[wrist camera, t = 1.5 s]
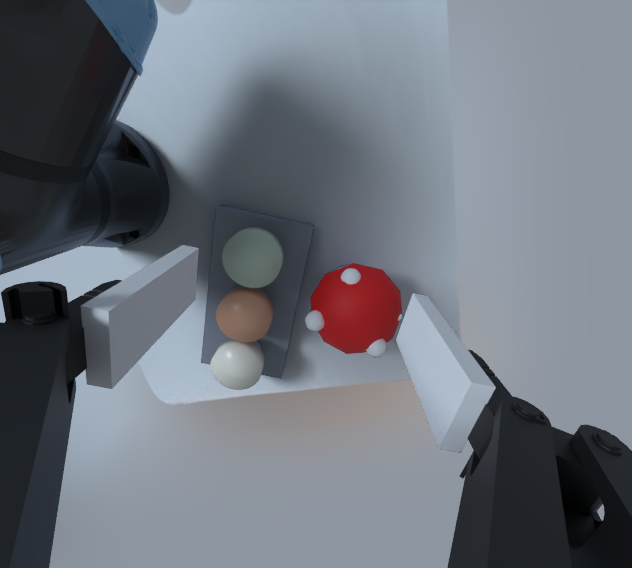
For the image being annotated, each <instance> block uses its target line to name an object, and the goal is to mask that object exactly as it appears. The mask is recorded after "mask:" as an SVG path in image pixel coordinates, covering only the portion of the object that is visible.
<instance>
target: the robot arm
mask: <svg viewBox="0 0 632 568" xmlns="http://www.w3.org/2000/svg"><path fill="white" fill-rule="evenodd" d="M157 21H158V16H157V9H156V5H155V2H154V0H0V275H1V274H4V273H7V272H10V271H13V270H15V269H18V268H21V267H24V266H27V265H30V264H32V263H35V262H38V261H41V260H44V259H46V258H49V257H52V256H55V255H57V254H60V253H63V252H66V251H69V250H72V249H74V248H77V247H80V246H95V247H122V246H127V245H130V244H133V243H135V242H138V241H140V240H142V239H144V238H146V237H148V236H149V235H151V234H152V233H153V232H154V231H155V230H156V229H157V228H158V227H159V226H160V224H161V223H162V221H163V219H164V217H165V215H166V212H167V208H168V202H169V188H168V182H167V178H166V174H165V171H164V168H163V166H162V164H161V162H160V160H159V158H158V156H157V155H156V153H155V152H154V150H153V149H152V148H151V146H150V145H149V144H148V143H147V142H146V140H145V139H144V138H143V137H141V136H140V135H139V134H138V133H137V132H136V131H134V130H133V129H132V128H130V127H129V126H127V125H125V124H123V123H121V122H119V121H117V120H116V118H117V116H118V114H119V112H120V110H121V108H122V106H123V104H124V102H125V100H126V98H127V96H128V94H129V92H130V90H131V88H132V86H133V84H134V82H135V80H136V78H137V76H138V75H139V76H141V74H142V71H143V68H142V63H143V60H144V58H145V55H146V53H147V50H148V48H149V46H150V43H151V41H152V38H153V36H154V33H155V31H156V28H157ZM198 253H199V248H196V247H191V246H186V245H182V246H180V247H178V248H177V249H175V250H173V251H172V252H170V253H168V254H166V255H165V256H163V257H161V258H160V259H158V260H156V261H155V262H153V263H151V264H150V265H148V266H146V267H145V268H143V269H141V270H140V271H138V272H136V273H135V274H133V275H131V276H130V277H128V278H126V279H125V280H123V281H121V280H114V281H111V282H107V283H103V284H101V285H99V286H98V287H96V288H94V289H93V290H92V291H89V292H87V293H85V294H84V295H83V296H80V297H78V298H76V299H74V300H72V301H71V302H69V303H68V300H67V291H66V287H65V286H63V285H61V284H58V283H53V282H41V281H38V282H27V283H21V284H17V285H14V286H11V287H8V288H6V289H5V290H3V292H1V295H2V301H3V306H4V312H5V317H6V321H5V323H0V568H49V564H50V557H51V550H52V544H53V537H54V531H55V524H56V517H57V511H58V504H59V497H60V491H61V484H62V477H63V471H64V464H65V458H66V452H67V445H68V438H69V432H70V425H71V419H72V412H73V406H74V399H75V393H76V382H75V378H76V377H77V376H78V375H79V374H80V373H81V372H83V371H84V370H85V369H86V379H87V384H88V385H93V386H99V387H104V388H110V389H112V388H113V387H114V386H115V385H116V384H117V383H118V382H119V381H120V380H121V379H122V378H123V376H124V375H125V374H126V373H127V372H128V371H129V370H130V369H131V368H132V367H133V366H134V365H135V364H136V362H137V361H138V360H139V359H140V358H141V357H142V356H143V355H144V354H145V353H146V352H147V351H148V350H149V349H150V348H151V346H152V345H153V344H154V343H155V342H156V341H157V340H158V339H159V338H160V337H161V336H162V335H163V334H164V332H165V331H166V330H167V329H168V328H169V327H170V326H171V325H172V324H173V323H174V322H175V321H176V320H177V319H178V317H179V316H180V315H181V314H182V313H183V312H184V311H185V310H186V309H187V308H188V307H189V306H190V305H191V303H192V302H193V301H194V300H195V294H196V281H197V267H198ZM396 342H397V344H398V347H399V349H400V352H401V354H402V357H403V360H404V362H405V365H406V367H407V370H408V372H409V375H410V377H411V380H412V383H413V385H414V387H415V390H416V393H417V395H418V398H419V400H420V403H421V406H422V408H423V411H424V413H425V416H426V418H427V421H428V423H429V426H430V429H431V431H432V434H433V436H434V439H435V441H436V444H437V446H438V449H442V450H447V451H453V452H458V453H461V452H462V450H463V448H464V446H465V444H466V442H467V440H469V442H470V444H471V446H472V448H473V449H474V451H473V453H472V455H471V457H470V459H469V460H468V462H467V464H466V466H465V468H464V469H463V471H462V473H461V475H460V477H461V478H464V476H465V475H466V477H465V481H464V487H463V492H462V497H461V502H460V507H459V513H458V517H457V522H456V527H455V532H454V538H453V543H452V548H451V553H450V558H449V563H448V568H632V451H631V450H630V449H629V448H628V447H627V446H626V445H625V444H624V443H622V442H621V441H620V440H619V439H618V438H617V437H615V436H614V435H611V434H610V433H609V432H607V431H605V430H601V429H599V428H596V427H594V426H590V425H581V426H580V427H579V429H578V430H577V432H576V433H575V434H574V435H572V434H569V433H566V432H564V431H561V430H559V429H556V428H554V427H551V424H550V421H549V419H548V418H547V417H546V416H545V415H544V413H543V412H542V411H540V410H539V409H538V408H536V407H535V406H533V405H532V404H530V403H528V402H526V401H525V400H522V399H519V398H517V397H512V396H511V394H510V393H509V392H508V391H507V389H506V388H505V387H504V386H503V384H502V383H501V382H500V380H499V379H498V378H497V377H495V374H494V373H493V372H492V370H491V369H489V366H488V365H487V364H486V363H485V361H484V360H483V359H482V358H481V357H479V356H478V355H477V354H476V353H474V352H473V351H472V350H468V349H467V348H466V347H465V345H464V344H463V343H462V341H461V340H460V339H459V337H458V336H457V335H456V333H455V332H454V331H453V329H452V328H451V327H450V325H449V324H448V323H447V321H446V320H445V319H444V317H443V316H442V315H441V313H440V312H439V311H438V309H437V308H436V307H435V305H434V304H433V303H432V301H431V300H430V299H429V297H428V296H424V295H419V294H415V293H413V294H412V297H411V299H410V302H409V305H408V308H407V310H406V313H405V316H404V319H403V322H402V324H401V327H400V330H399V333H398V335H397V338H396ZM602 504H603V505H604V511H605V515H604V520H603V521H602V520H601V519H600V517H599V515H598V513H597V510H598V509H599V508H600V506H601V505H602Z"/></svg>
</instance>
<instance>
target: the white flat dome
mask: <svg viewBox="0 0 632 568" xmlns="http://www.w3.org/2000/svg"><path fill="white" fill-rule="evenodd" d="M263 366H264V355H263V353H262V351H261V349H260V348H259V347H258V346H257V345H256V344H255V343H253V342H238V341H235V340H233V339H229V340H226V341H224V342H223V343H222V344H221V345H220V346H219V347H218V349H217V351H216V353H215V354H214V356H213V358H212V360H211V364H210V368H211V372H212V375H213V376H214V378H215V379H216V380H217V381H218V382H219V383H220V384H222V385H223V386H225V387H227V388H230V389H236V390H242V389H247V388H250V387H252V386H253V385H255V384H256V383H257V382H258V380H259V378H260V376H261V373H262V369H263Z"/></svg>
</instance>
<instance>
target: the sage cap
mask: <svg viewBox="0 0 632 568" xmlns="http://www.w3.org/2000/svg"><path fill="white" fill-rule="evenodd" d="M283 259H284V253H283V249H282V246H281V244H280V242H279V240H278V239H277V238H276V237H275V236H274V235H273V234H272V233H270V232H269V231H267V230H265V229H262V228H257V227H250V228H245V229H243V230H241V231H239V232H238V233H236V234H235V235H234V236H233V237H231V238H230V239H229V240H228V241H227V243H226V244H225V246H224V249H223V253H222V262H223V266H224V269H225V271H226V272H227V274H228V275H229V277H230V278H231V279H232V280H234V281H235V282H236V283H238V284H240V285H242V286H244V287H248V288H260V287H264V286H266V285H268V284H270V283H271V282H272V281H273V280H274V279H275V278H276V277H277V275H278V274H279V271H280V269H281V267H282V264H283Z"/></svg>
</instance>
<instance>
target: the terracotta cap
mask: <svg viewBox="0 0 632 568" xmlns="http://www.w3.org/2000/svg"><path fill="white" fill-rule="evenodd" d="M272 318H273V306H272V303H271V301H270V300H269V298H268V297H267V296H266V295H265V294H264V293H263V292H261V291H260V290H258V289H255V288H248V287H238V288H235V289H233V290H231V291H230V292H228V293H227V294H226V296H225V297H224V298H223V300H222V301H221V302H220V304H219V305H218V307H217V310H216V321H217V324H218V326H219V328H220V330H221V331H222V332H223V333H224V334H225V335H226V336H227V337H229V338H231V339H233V340H235V341H238V342H253V341H256V340H259V339H260V338H262V337H263V336H264V335H265V334H266V333H267V331H268V329H269V327H270V324H271V321H272Z"/></svg>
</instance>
